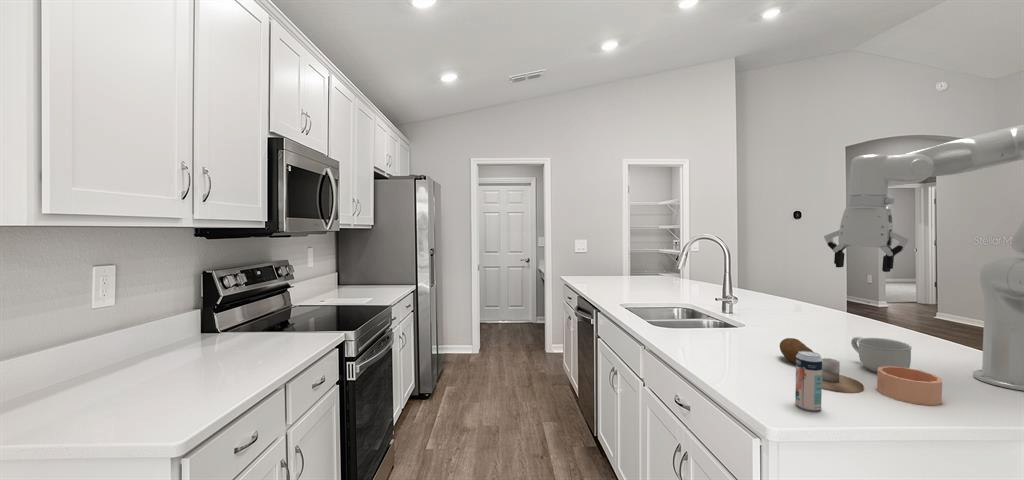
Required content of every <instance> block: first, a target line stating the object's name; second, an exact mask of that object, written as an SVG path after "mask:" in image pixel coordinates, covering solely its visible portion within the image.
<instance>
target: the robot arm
mask: <svg viewBox="0 0 1024 480" xmlns="http://www.w3.org/2000/svg"><path fill="white" fill-rule="evenodd" d="M1022 160H1023V161H1024V124H1020V125H1014V126H1009V127H1006V128H1005V127H1004V128H1001V129H997V130H993V131H989V132H985V133H979V134H976V135H971V136H969V137H964V138H960V139H955V140H950V141H947V142H944V143H941V144H938V145H934V146H930V147H927V148H924V149H919V150H916V151H911V152H907V153H903V154H890V155H889V154H888V155H886V154H882V153H881V154H878V153H876V154H875V153H874V154H872V153H871V154H862V155H861V154H860V155H858V156H855V157H854V158H853V159H851V164H850V176H849V177H850V178H849V188H848V189H849V190H848V200H847V201H848V203H847V205H848V206H847V208H845V209H844V211H843V212H842V218H841V221H840V224H839V229H838V230H836V231H833V232H831V233H828V234H825V235H824V236H823V238H824V240H825V242H826V243H827V246H828V247H829V248H830V249H831V250H832V252H833V253H834V258H833V259H834V260H833V264H834V265H835V268H844V265H845V252H844V250H846V249H847V248H848V247H857V248H874V249H875V248H877V249H878V248H880V249H881V250H882V251H883V253H884V254H885V255H883V257H882V266H881V267H882V268H881V269H882V270H881V271H882V272H883V273H889V272H891V270H892V269H894V258H895V256H896V255H897V254H900V253H901V252H902V251H904V250H905V248H906V247H907V246H908V245H909V244H910V243H911V239H910V238H908V237H906V236H905V235H901V234H899V233H897V232H894V225H893V214H892V209H891V208H888V206H889V205H891V204H895V198H890V197H889V196H888V191H889V187H892V186H893V187H894V186H895V187H896V186H903V185H911V184H912V185H913V184H917V183H920V182H922V181H926V180H927V179H928V178H935V177H942V176H952V175H959V174H964V173H971V172H974V171H975V172H976V171H978V170H983V169H988V168H992V167H996V166H1001V165H1004V164H1005V165H1006V164H1009V163H1013V162H1018V161H1022ZM837 237H838V244H836V243H835V242H834V238H837ZM894 240H897V241H898V242H899V243H898V244H897V245H896V246H894V247H892V245H893V241H894ZM1010 243H1011V244H1010V246H1011V248H1012V249H1013V251H1015V252H1016V253H1017V254H1020V255H1022V256H1024V219H1023V220H1022V221H1021V223H1020V225H1019V226H1018V228H1017V229H1016V231H1015V232H1014V234H1013V235H1012V237H1011V241H1010ZM978 276H979V283H980V284H979V285H980V288H981V291H982V295H983V307H984V308H983V311H984V312H983V334H982V335H983V336H982V338H983V339H982V360H981V361H982V363H981V364H982V366H981V369H976V370H973V371H972V377H973V378H975V379H976V380H978V381H981V382H984V383H986V384H990V385H992V386H997V387H1001V388H1004V389H1005V388H1006V389H1010V390H1011V389H1012V390H1017V391H1023V392H1024V257H1010V256H1009V257H998V258H994V259H991V260H989V261H987V262H986V263H984V264H983V265H982V267H981V268H980V269H979V274H978Z"/></svg>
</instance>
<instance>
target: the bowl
mask: <svg viewBox="0 0 1024 480" xmlns="http://www.w3.org/2000/svg"><path fill="white" fill-rule="evenodd" d="M876 375H877V376H876V377H877V378H876V381H877V382H876V391H877V392H879V393H880V394H882V395H883V396H886V397H889V398H892V399H894V400H897V401H900V402H905V403H910V404H914V405H923V406H931V407H932V406H939V405H940V406H941V405H942V401H943V400H942V399H943V378H942V377H940V376H938V375H936V374H933V373H930V372H927V371H923V370H920V369H916V368H905V367H895V366H883V367H879V368H878V370H877V373H876Z"/></svg>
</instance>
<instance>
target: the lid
mask: <svg viewBox="0 0 1024 480" xmlns="http://www.w3.org/2000/svg"><path fill="white" fill-rule="evenodd" d="M822 360H823V361H822V390H824V391H827V392H828V391H829V392H835V393H841V394H856V393H857V394H858V393H862V392H863V391H864V390H865V386H864V384H863V383H862V382H861V381H859V380H857V379H854V378H853V377H848V376H846V375H842V374H840V363H841V362H840V361H839V360H837V359H833V358H828V357H827V358H822Z"/></svg>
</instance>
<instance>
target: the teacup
mask: <svg viewBox="0 0 1024 480" xmlns="http://www.w3.org/2000/svg"><path fill="white" fill-rule="evenodd" d="M850 343H851V347H852V348H853V349H854V350H855V352H856V353H858V357H859V361H860V363H861V364H862V365H863V366H865V367H866V368H867V369H868V370H869V371H871V372H874V373H876V374H877V370H878V368H879V367H883V366H895V367H905V368H910V367H911V362H912V359H911V358H912V346H911V345H910V344H908V343H905V342H903V341H900V340H895V339H890V338H884V337H882V338H881V337H862V336H854V337H852V339H851V342H850ZM910 369H911V368H910Z"/></svg>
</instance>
